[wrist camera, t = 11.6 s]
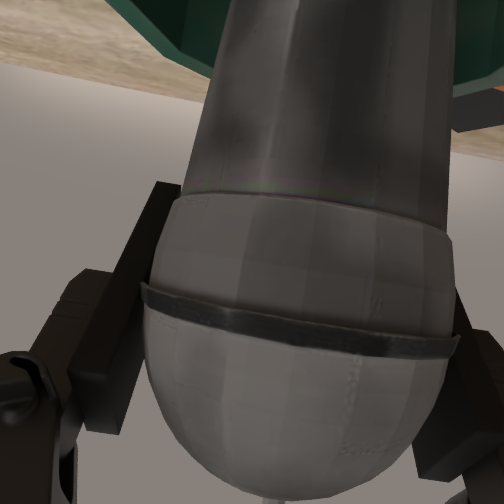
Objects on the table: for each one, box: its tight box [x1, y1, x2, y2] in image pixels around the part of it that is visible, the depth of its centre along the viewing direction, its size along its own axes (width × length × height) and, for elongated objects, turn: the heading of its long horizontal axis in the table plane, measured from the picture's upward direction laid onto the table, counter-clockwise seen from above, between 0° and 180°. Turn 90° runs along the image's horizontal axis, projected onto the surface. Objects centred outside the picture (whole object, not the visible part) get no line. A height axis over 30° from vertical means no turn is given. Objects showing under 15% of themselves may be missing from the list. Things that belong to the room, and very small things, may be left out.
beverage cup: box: [140, 0, 461, 504], centre depth 10 cm, size 7×7×20 cm
